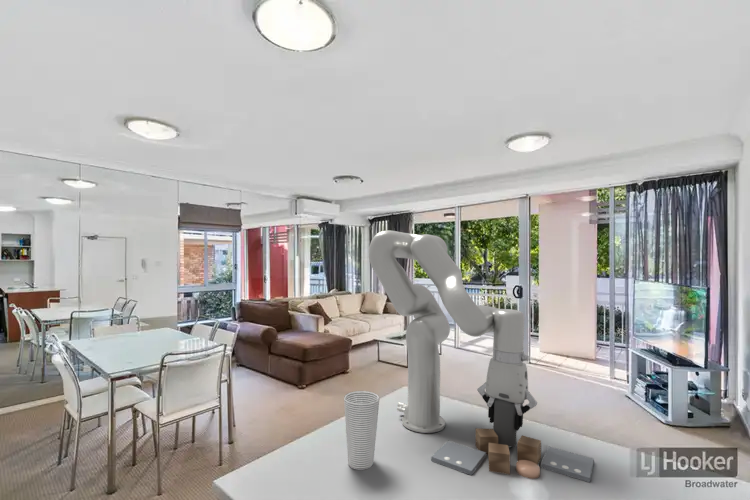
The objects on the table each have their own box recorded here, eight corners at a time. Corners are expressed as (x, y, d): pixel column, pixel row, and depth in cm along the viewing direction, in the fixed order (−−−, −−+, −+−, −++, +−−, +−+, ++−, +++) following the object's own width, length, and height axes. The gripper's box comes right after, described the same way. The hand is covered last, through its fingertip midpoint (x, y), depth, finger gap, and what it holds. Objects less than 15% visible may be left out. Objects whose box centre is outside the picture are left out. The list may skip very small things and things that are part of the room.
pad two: (431, 460, 88) (431, 456, 88) (448, 444, 97) (448, 440, 97) (471, 475, 83) (471, 470, 83) (486, 456, 91) (486, 451, 91)
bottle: (518, 448, 94) (520, 389, 94) (494, 445, 95) (496, 387, 95) (514, 437, 99) (516, 382, 99) (491, 434, 100) (493, 379, 101)
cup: (361, 450, 93) (362, 388, 93) (386, 463, 87) (387, 397, 87) (335, 462, 87) (336, 396, 87) (359, 478, 81) (360, 406, 81)
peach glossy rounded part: (512, 473, 84) (512, 466, 84) (521, 464, 88) (521, 457, 88) (534, 482, 81) (534, 475, 81) (543, 473, 84) (543, 466, 84)
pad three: (540, 467, 86) (540, 462, 86) (548, 449, 94) (548, 445, 95) (589, 482, 81) (589, 477, 81) (593, 462, 89) (593, 458, 89)
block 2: (489, 471, 84) (489, 451, 85) (488, 461, 89) (488, 442, 89) (509, 474, 83) (509, 454, 83) (508, 464, 88) (508, 445, 88)
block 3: (517, 461, 89) (517, 442, 89) (521, 453, 93) (521, 435, 93) (537, 467, 87) (537, 447, 87) (541, 459, 90) (541, 440, 90)
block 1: (480, 454, 92) (480, 436, 92) (475, 445, 96) (475, 428, 96) (498, 455, 92) (498, 436, 92) (492, 446, 96) (492, 428, 96)
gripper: (545, 360, 95) (542, 429, 95) (480, 348, 105) (478, 411, 105) (539, 366, 89) (536, 441, 89) (471, 352, 99) (468, 420, 99)
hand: (504, 424), depth 97 cm, fingers closed on bottle, 5 cm apart
